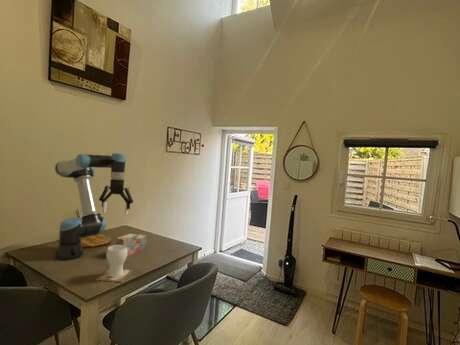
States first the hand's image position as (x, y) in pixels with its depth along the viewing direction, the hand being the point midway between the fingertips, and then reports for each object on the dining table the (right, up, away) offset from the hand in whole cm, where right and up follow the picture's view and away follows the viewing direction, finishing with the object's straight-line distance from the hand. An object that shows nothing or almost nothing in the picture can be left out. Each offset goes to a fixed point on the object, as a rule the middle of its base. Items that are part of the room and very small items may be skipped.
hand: (115, 213), depth 153 cm
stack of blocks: (+2, -30, +21) cm, 37 cm away
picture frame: (+6, -32, -14) cm, 35 cm away
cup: (+6, -32, -14) cm, 35 cm away
